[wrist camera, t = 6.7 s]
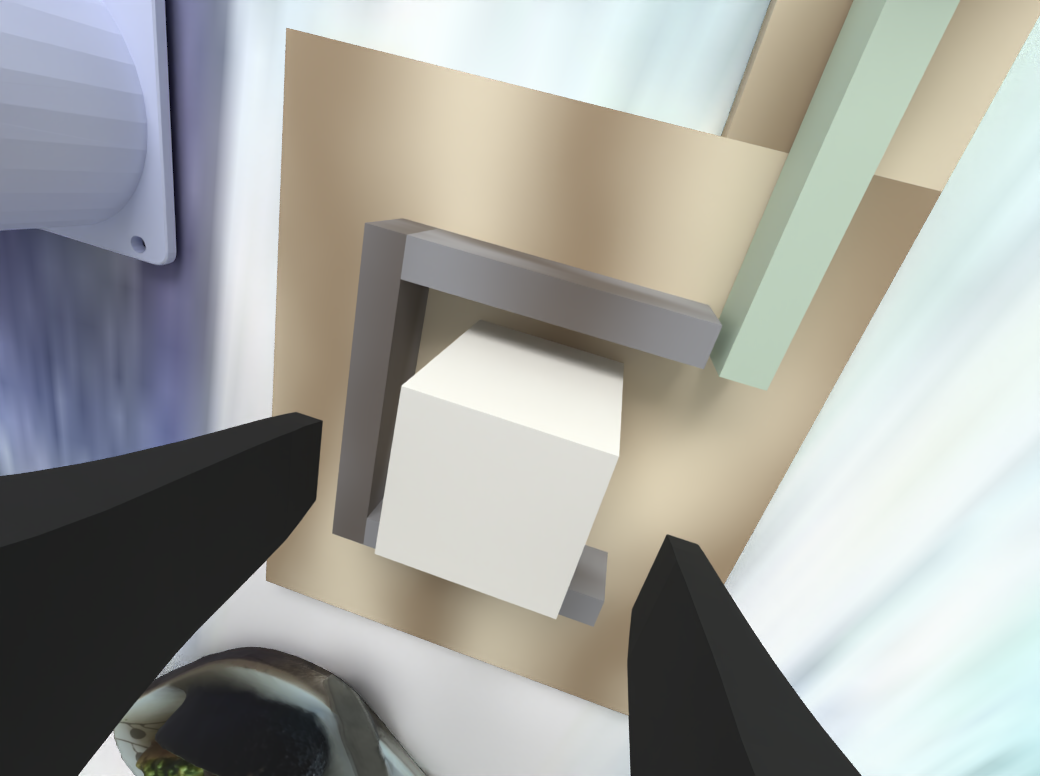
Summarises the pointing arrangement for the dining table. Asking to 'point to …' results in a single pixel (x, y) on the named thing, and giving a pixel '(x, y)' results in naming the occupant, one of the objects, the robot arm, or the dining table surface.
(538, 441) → the white cube block
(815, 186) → the gate
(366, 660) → the dining table surface
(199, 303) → the dining table surface
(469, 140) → the beige board
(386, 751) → the salad plate
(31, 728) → the robot arm
